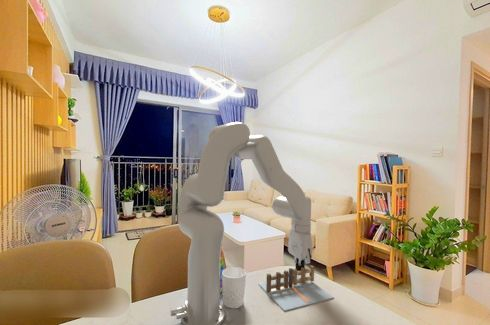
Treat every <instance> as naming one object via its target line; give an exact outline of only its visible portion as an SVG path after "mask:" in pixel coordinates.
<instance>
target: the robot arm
mask: <svg viewBox="0 0 490 325" xmlns="http://www.w3.org/2000/svg"><path fill="white" fill-rule="evenodd" d="M204 145H205V146H204V147H203V148H202V152H201V155H200V159H199V165H198V172H197V173H193V174H191V175H189V177H187V179H186V180H185V182H184V184H183V186H182V189H181V196H180V201H179V203H180V204H179V210H178V217H177V219H178V220H177V222H178V227H179V230H180V232H182V233H183V235H186V236H187V237H188V238H189V239H191V241H190V245H189V246H190V247H189V250H188V255H187V296H186V297H187V300H184V304H181V306H179V307H173V308H170V317H174V316H175V320H181V322H182V323H181V324H182V325H221V324H222V323H223V322H224V320H225V316H226V313H225V309H224V308H223V306H222V305H220V303H221V302H220V301H221V293H220V258H221V256H222V255H221V251H222V247H221V245H222V246H223V239H224V234H225V226H224V222H223V221H222V219H221V218H220V216H219V215H217V214H216V213H214V212H213V211H210V210H208V207H209V208H210V207H211V208H214V207H217V206H218V205H220V204H221V203H222V201H223V199H224V196H225V190H226V181H227V174H228V168H229V162H230V160H231V158H232V157H234V158H238V159H242V160H251V161H252V164H254V166H255V169H256V171H257V173H258V176H260V180H261V181H262V182H263V183H264V184H265V185H267V187H270V188H271V189H273V190H275V191H277V192H278V193H279V194H281V196H278V197H275V199H274V200H273V201H272V203H271V204H272V205H271V208H272V211H273V212H274V213H275V214H276V215H278V216H281V217H284V218H288V219H291V220H290V222H291V223H290V224H291V225H290V229H289V234H288V235H289V236H288V242H287V243H288V246H287V251H288V253H289V254H291V255H292V257H293V259H294V263H295V269H296V270H297V271H300V270H301V267H304V268H306V266H305V265H308V264H311V260H312V257H313V238H312V231H311V230H312V229H311V228H312V227H311V226H312V222H311V221H312V199H311V197H309V196H307V195H305V192H304V190H303V189H302V187H300V184H298V183H297V182H296V181H295V179H293V178H292V177H291V176H290V175H289V174H288V173H287V172H286V171H285V170H284V168H283V166H282V164H281V162H280V160H279V157H278V154H277V152H276V150H275V148H274V146H273V144H272V141H271V140H270V138H269V137H267V136H266V135H264V134H263V135H262V134H256V135H251V131H250V128H249V125H247V124H245V122H244V123H243V122H239V121H235V122H229V123H226V124H221V125H218V126H215V127H213V128H212V129H211V130H210V132H209V133H208V140H207V142H206V144H204Z"/></svg>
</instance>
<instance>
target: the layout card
mask: <svg viewBox="0 0 490 325" xmlns="http://www.w3.org/2000/svg"><path fill="white" fill-rule="evenodd" d="M299 278H301V275H297V279H299ZM288 281H289V277H288ZM281 282H284V278H281ZM275 283H276V280H271V284H275ZM266 284H267V281H264V282H259V283H258V286H260V288H261V289H262V290H263V291H264V292H265V293H266V294H267V296H269V297H270V298H271V299H272V300H273V302H274V303H275V304H277V305H278V306H279V308H280V309H281V310H282V311H283V312H285V313H286V312H289V311H292V310H295V309H299V308H304V307H307V306H311V305H315V304H318V303H323V302H325V301H329V300H333V299H335V297H334V296H333V295H331V294H330V293H328V291H326V290H324V289H323V288H321V287H320V286H319V285H317V284H316V283H315V282H314V281H305V283H302V282H301V283H297V285H293V284H292V287H289V285H288V288H286V289H285V288H284V286H282V287H280V290H277V289H276V288H273V289H271V292H269V293H268V292H267V291H266Z"/></svg>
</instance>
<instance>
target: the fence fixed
mask: <svg viewBox="0 0 490 325" xmlns="http://www.w3.org/2000/svg"><path fill="white" fill-rule="evenodd" d="M293 269H294V268H291V267H290V268H289V267H288V270H284V271H283V273H281V272H280V271H276V272H275V275H274V274H273V275H272V274H271V273H267V274H266V282H267V284H266V291H267V292H268V293H269V292H271V289H273V288H276V289H277V290H280V287H282V286H284V288H285V289H286V288H288V285H289V287H292V281H293ZM288 277H289V281H288ZM283 278H284V282H281V279H283ZM273 280H276V283H275V284H271V281H273Z"/></svg>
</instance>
